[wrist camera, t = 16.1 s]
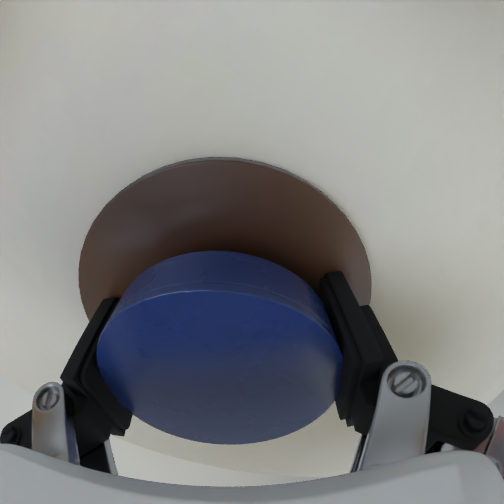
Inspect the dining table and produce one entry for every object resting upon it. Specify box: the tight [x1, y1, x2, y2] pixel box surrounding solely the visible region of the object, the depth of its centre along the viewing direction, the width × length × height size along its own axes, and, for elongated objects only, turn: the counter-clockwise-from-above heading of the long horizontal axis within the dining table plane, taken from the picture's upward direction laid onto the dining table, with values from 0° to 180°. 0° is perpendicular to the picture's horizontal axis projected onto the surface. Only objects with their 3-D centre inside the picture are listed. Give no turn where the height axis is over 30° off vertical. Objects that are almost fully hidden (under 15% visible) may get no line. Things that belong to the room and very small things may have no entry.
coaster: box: [79, 157, 371, 321], centre depth 10 cm, size 11×11×1 cm
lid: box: [97, 251, 343, 444], centre depth 8 cm, size 7×7×2 cm
